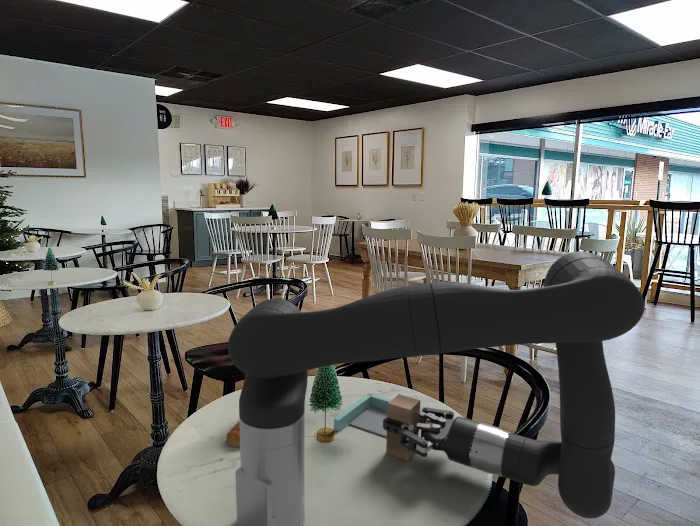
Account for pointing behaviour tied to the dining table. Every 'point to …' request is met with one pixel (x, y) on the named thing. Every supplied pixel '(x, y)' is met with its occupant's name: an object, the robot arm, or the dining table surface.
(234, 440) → the pastry
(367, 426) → the teal corner fixture
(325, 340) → the robot arm
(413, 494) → the dining table surface
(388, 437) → the walnut block
